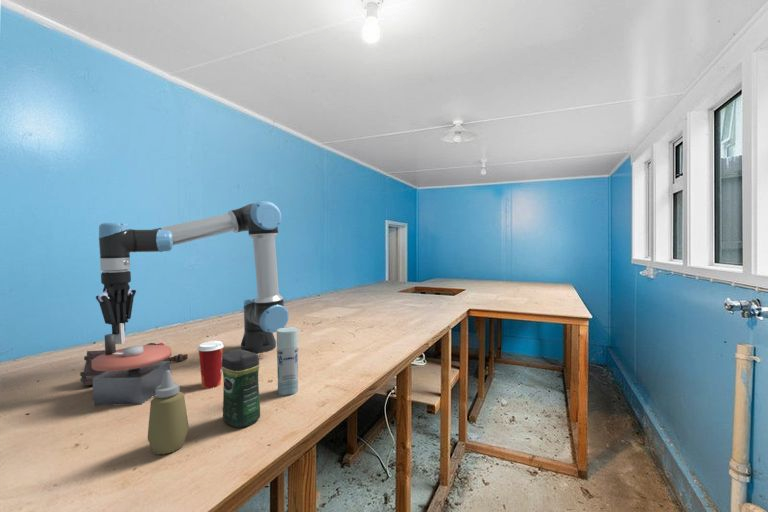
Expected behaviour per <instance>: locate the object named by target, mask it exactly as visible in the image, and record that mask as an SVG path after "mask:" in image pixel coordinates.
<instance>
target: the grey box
mask: <svg viewBox="0 0 768 512" xmlns="http://www.w3.org/2000/svg"><path fill="white" fill-rule="evenodd" d="M166 370H170V371H171V362H170V361H161V362H158V363H156V364H152V365H149V366H145V367H141V368H137V369H133V370H123V371H110V372H104V373H102V374H100V375H98V376H96V377H94V378H93V385H92V397H93V398H92V399H93V402H92V404H93V406H103V405H104V406H108V405H109V406H110V405H111V406H112V405H113V406H115V405H117V404H120V405H143V404H144V403H146V402H147V401H149V400H150V399H152V398H153V397H155V396H156V393H155V389H156V388H157V387H158V386H160V385H161V383H162V379H163V374H164V371H166ZM154 395H155V396H154ZM152 396H153V397H152ZM151 397H152V398H151ZM148 399H149V400H148ZM145 401H146V402H145ZM142 403H143V404H142ZM114 404H115V405H114Z"/></svg>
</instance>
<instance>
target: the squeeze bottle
mask: <svg viewBox="0 0 768 512" xmlns="http://www.w3.org/2000/svg"><path fill="white" fill-rule="evenodd" d="M155 393H156V395H155V396H153V397H152V398H151V401H150V406H149V417H148V428H147V441H148V442H149V445H150V447H151V449H152V451H153V453H154V452H155V453H156V454H155V453H154V454H155V455H158V454H163V455H166V454H165V453H169V452H172V453H174V452H176V451H178V450H180V449H181V448H182V447H184V443H185V440H186V438H187V435H188V432H189V429H190V428H189V427H190V426H189V425H190V424H189V420H188V419H189V418H188V414H187V405H186V398H185V394H184V392H181V391H180V383H177V382H174V379H173V376H172V373H171V369H170V370H166V371H164V374H163V379H162V383H161V385H160V386H158V387H157V388H156V389H155ZM180 447H181V448H180ZM179 448H180V449H179ZM177 449H178V450H177ZM175 450H176V451H175ZM173 451H174V452H173ZM169 454H170V453H169Z"/></svg>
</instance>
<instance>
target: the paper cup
mask: <svg viewBox="0 0 768 512" xmlns="http://www.w3.org/2000/svg"><path fill="white" fill-rule="evenodd" d="M224 347H225V346H224V344H223V342H222V341H220V340H210V341H209V340H208V341H205V342H202V343H200V344H199V346H198V348H197V351H198V353H199V354H198V356H199V367H200V376H201V377H200V378H201V387H202V388H203V389H207V388H208V389H213V387H214V388H217V387H219V386H220V385H221V384H222V374H223V371H222V359H223V349H224Z"/></svg>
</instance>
